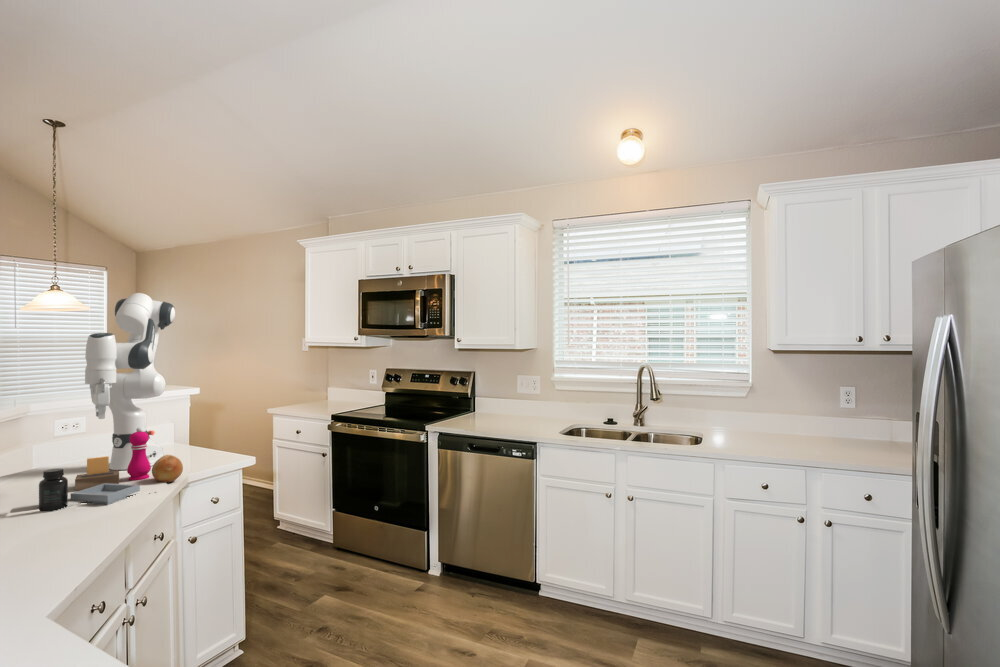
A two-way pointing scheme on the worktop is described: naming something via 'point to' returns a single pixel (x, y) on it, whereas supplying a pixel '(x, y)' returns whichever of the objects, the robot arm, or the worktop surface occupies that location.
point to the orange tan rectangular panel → (97, 465)
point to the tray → (105, 493)
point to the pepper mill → (139, 456)
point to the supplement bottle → (53, 490)
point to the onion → (167, 469)
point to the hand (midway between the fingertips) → (100, 417)
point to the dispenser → (96, 480)
